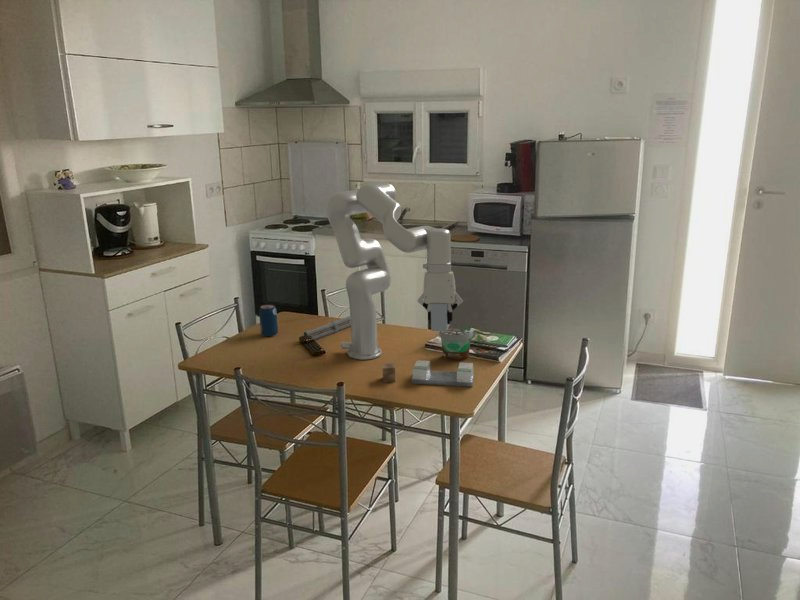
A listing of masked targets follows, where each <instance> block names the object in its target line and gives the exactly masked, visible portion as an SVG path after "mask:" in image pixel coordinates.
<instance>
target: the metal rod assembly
mask: <svg viewBox="0 0 800 600" xmlns="http://www.w3.org/2000/svg"><path fill="white" fill-rule="evenodd" d="M349 327H350V328H351V321H350V315H349V316H346V317H344V318H341V319H337V320H333V321H330V322H329V323H326V324H323V325H321V326H317V327H315V328H313V329H310V330H307V331H304V332H303V336H304V337H305V336H307V337H310V336H311V337H312V338H313V339H315V340H319V339H321V338H323V337H327V336H328V335H329V336H330V335H333V334H336V333H338V332H340V331H342V330H345V329H348V328H349ZM307 337H306V338H307ZM315 340H314V341H315Z"/></svg>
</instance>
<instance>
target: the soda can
mask: <svg viewBox="0 0 800 600" xmlns="http://www.w3.org/2000/svg"><path fill="white" fill-rule="evenodd" d="M258 313H259V314H258V315H259V324H260V325H259V327H260V333H261V335H262V336H263V335H264V336H263V337H265V336H272V337H274V336H273V335H275V336H277V335H276V334H278V333H279V326H278V325H279V324H278V311H277V308H276V306H275V304H263V305H260V308H259V310H258Z"/></svg>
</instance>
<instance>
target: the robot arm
mask: <svg viewBox="0 0 800 600" xmlns="http://www.w3.org/2000/svg"><path fill="white" fill-rule="evenodd" d="M396 200H397V191H396V189H395V187H394V186H393V184H391V183H390V182H386V181H378V182H373V183H370V182H369V183H365V184H363V185H362V186H360V187H359V188H358V189H353V190H346V191H345V190H344V191H340V192H336V193H334V194H332V195H331V196H330V197H329V198H328V200H327V203H326V207H325V208H326V209H325V211H326V217H327V219H328V221H329V224H330V226H331V228H332V230H333V233H334V236H335V240H336V243H337V246H338V249H339V252H340V256H341V260H342V262H343V264H344V266H345V267H347V268H348V269H355V268H360V267H364V266H367V268H364V269H360V270H356V271H354V272H352V273H350V274H349V275H348V276H347V277H346V281H345V288H346V293H347V297H348V302H349V303H348V304H349V316H350V321H349V322H351V326H350V337H351V339H350V341H340V347H341V349H344V350H345V349H346V350H347V349H348V350H347V355H348V357H349V358H351V359H354V360H361V361H363V360H365V361H366V360H372V359H375V358H379V357H380V356H381V355H382V354H383V351H382V349H381V347H379V346H378V327H377V325H378V321H377V320H378V319H377V306H376V304H375V302H374V300H373V298H372V296H373V295H375V294H378V293H382V292H385V291H386V290H388V289H389V288H390V286H391V282H392V281H391V273H390V271H389V270H390V269H389V265H388V263H387V260H386V256H385V253H384V249H383V247H382V245H381V243H380V242H379V241H378V240H377V239H375V238H372V237H365V238H361V234H360V231H359V228H358V226H357V225H356V223H355V221H354V220H352V219H351V218H350V216H352V215H358V214H364V213H365V214H366V213H369V214H371V216H373V217H374V218H376V220H378V221H379V222H380V223H381V224H382V230H383V233H384V235H385V237H386V239H387V240H388V242H389V243H391V244H392V245H393V246H394V247H396V249H398V250H399V251H402V252H404V253H407V254H408V253H409V254H410V253H416V252H419V251H424V250H426V260H427V261H426V263H423V264H422V269H425V270H426V271H425V272H424V275H423V276H424V279H423V289H422V290H423V291H422V293H421V294H420V296H419V298H417V303H418V304H420V305H421V306H422V307H423V308H424V309H425V310H426V311H427V319H428V321H429V323H430V325H431V303H437V304H447V307H448V312H447V323H448V324H451V322H452V321H453V318H454V317H453V311H454V310H455V309H456V308H457V307H458V306H460V305H461V304H463V302H464V300H463V298H462V297H461V296H460V294H458V292H457V291H456V290H457V289H456V279H455V275H454V271H452V250H451V249H452V248H451V247H452V246H451V245H452V243H451V242H452V239H451V231H450V230H449V229H446V228H441V227H440V228H436V227H433V226H431V225H421V226H416V227H410V228H406V227H404V226H403V225H402V224H400V223H399V222H398V221H399V219H400V217H401V215H402V211H403V210H402V206H401V205H400V203H398V202H397V201H396Z"/></svg>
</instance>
